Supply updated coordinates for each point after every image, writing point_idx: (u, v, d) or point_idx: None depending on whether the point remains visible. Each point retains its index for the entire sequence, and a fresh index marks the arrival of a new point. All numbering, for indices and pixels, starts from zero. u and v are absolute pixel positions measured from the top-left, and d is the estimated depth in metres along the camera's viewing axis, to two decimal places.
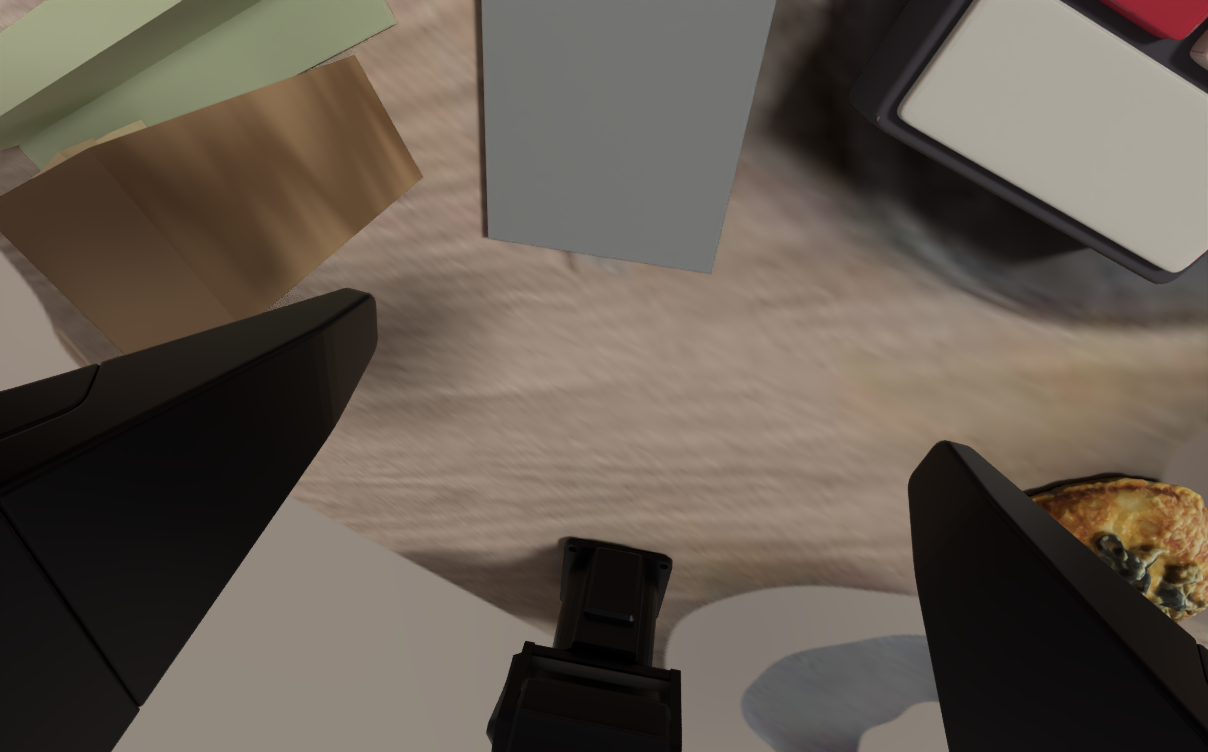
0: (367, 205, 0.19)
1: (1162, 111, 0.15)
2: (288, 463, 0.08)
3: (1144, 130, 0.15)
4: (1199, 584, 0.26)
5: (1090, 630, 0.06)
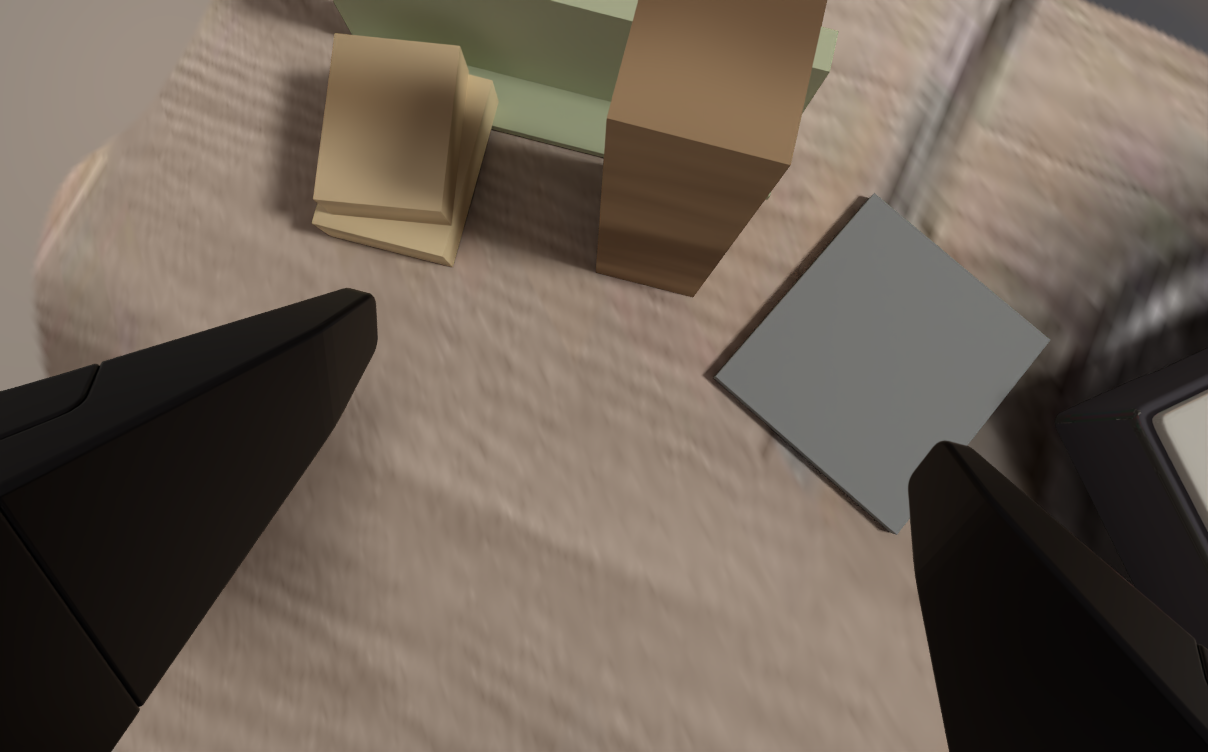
0: None
1: None
2: (288, 463, 0.08)
3: None
4: None
5: (1090, 630, 0.06)
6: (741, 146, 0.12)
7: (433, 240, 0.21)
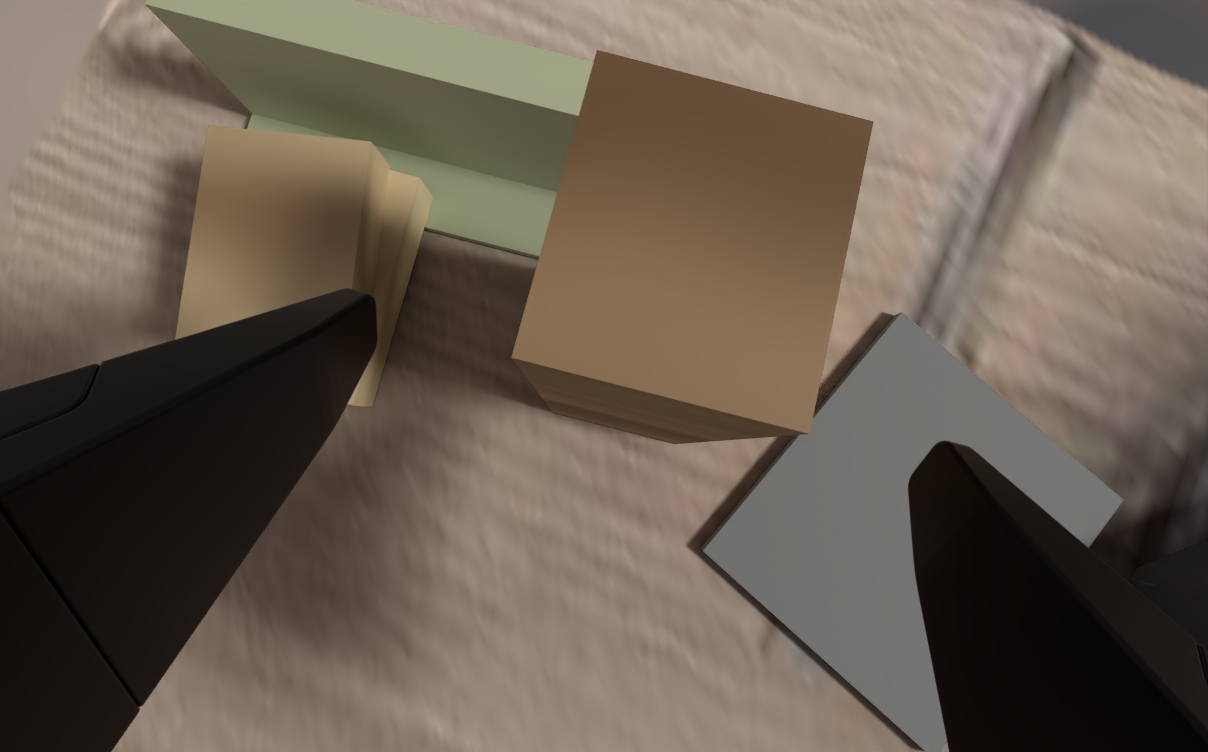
0: None
1: None
2: (288, 463, 0.08)
3: None
4: None
5: (1090, 630, 0.06)
6: (730, 404, 0.08)
7: None
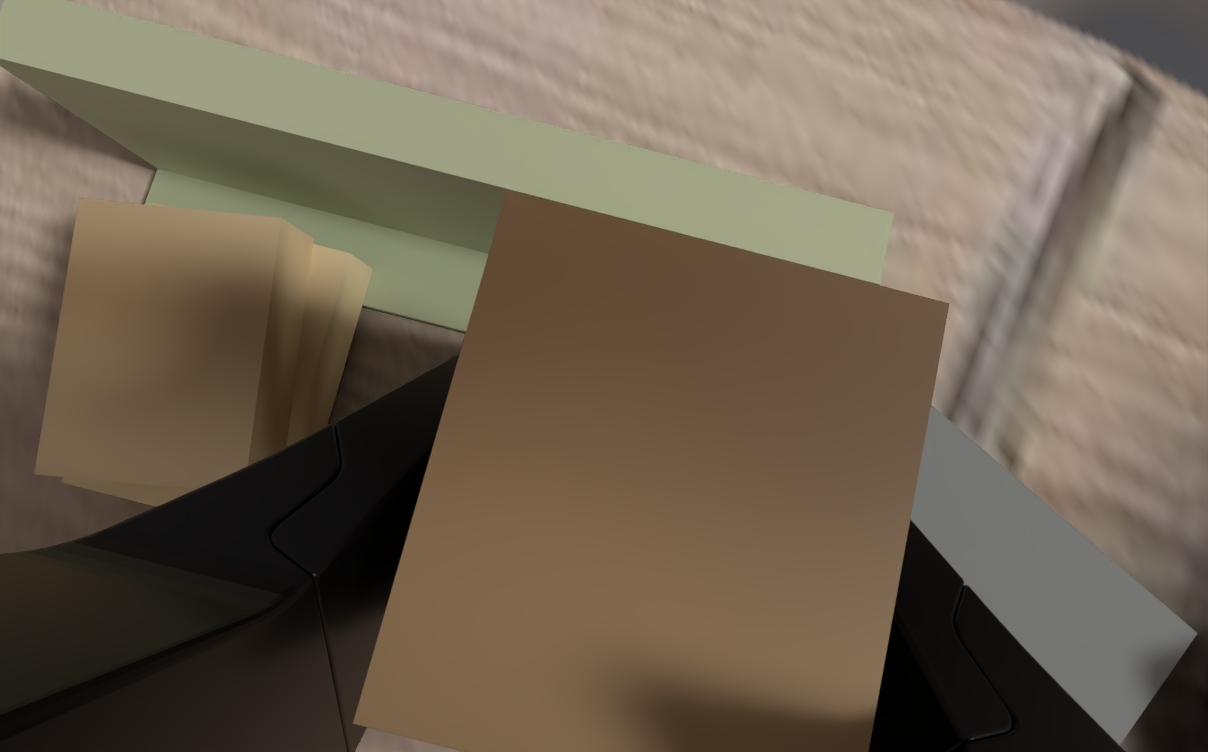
0: None
1: None
2: None
3: None
4: None
5: None
6: None
7: None
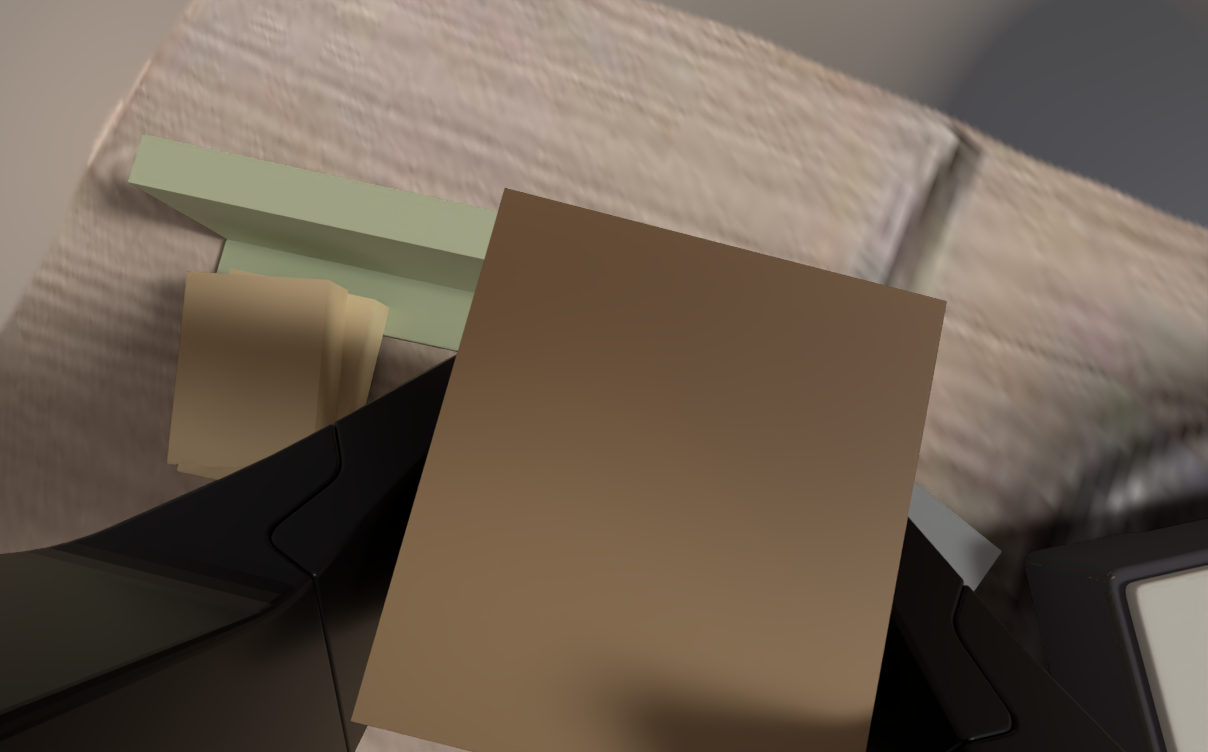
0: None
1: None
2: None
3: None
4: None
5: None
6: None
7: None
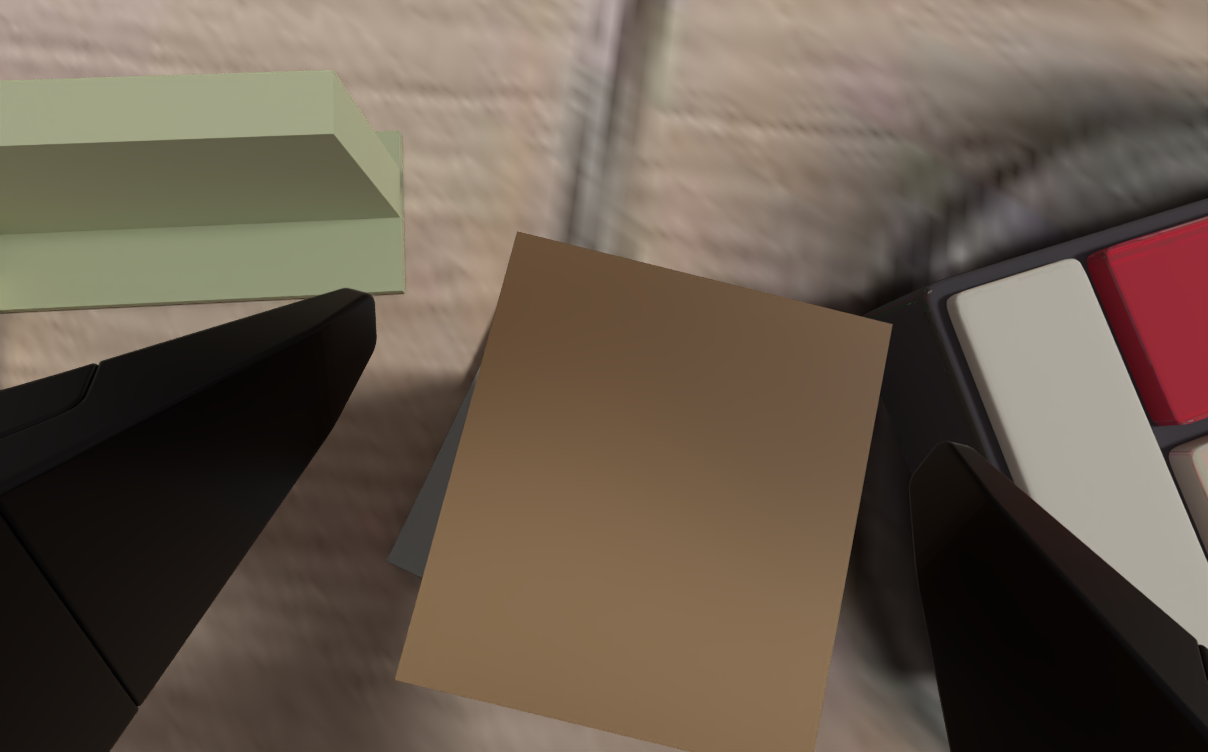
0: None
1: (1147, 483, 0.14)
2: (287, 463, 0.08)
3: (1130, 490, 0.14)
4: None
5: (1092, 631, 0.06)
6: (697, 740, 0.05)
7: None
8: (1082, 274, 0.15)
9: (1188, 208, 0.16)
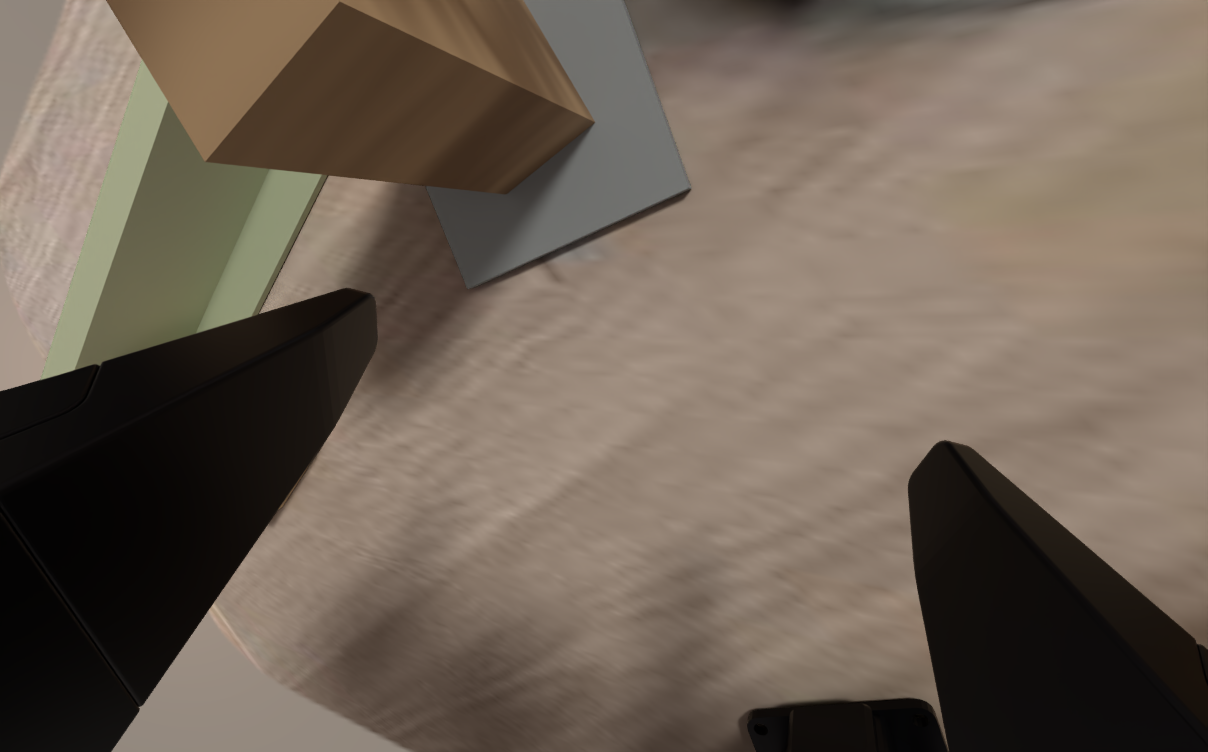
0: (531, 81, 0.15)
1: None
2: (288, 463, 0.08)
3: None
4: None
5: (1090, 630, 0.06)
6: (294, 44, 0.09)
7: None
8: None
9: None
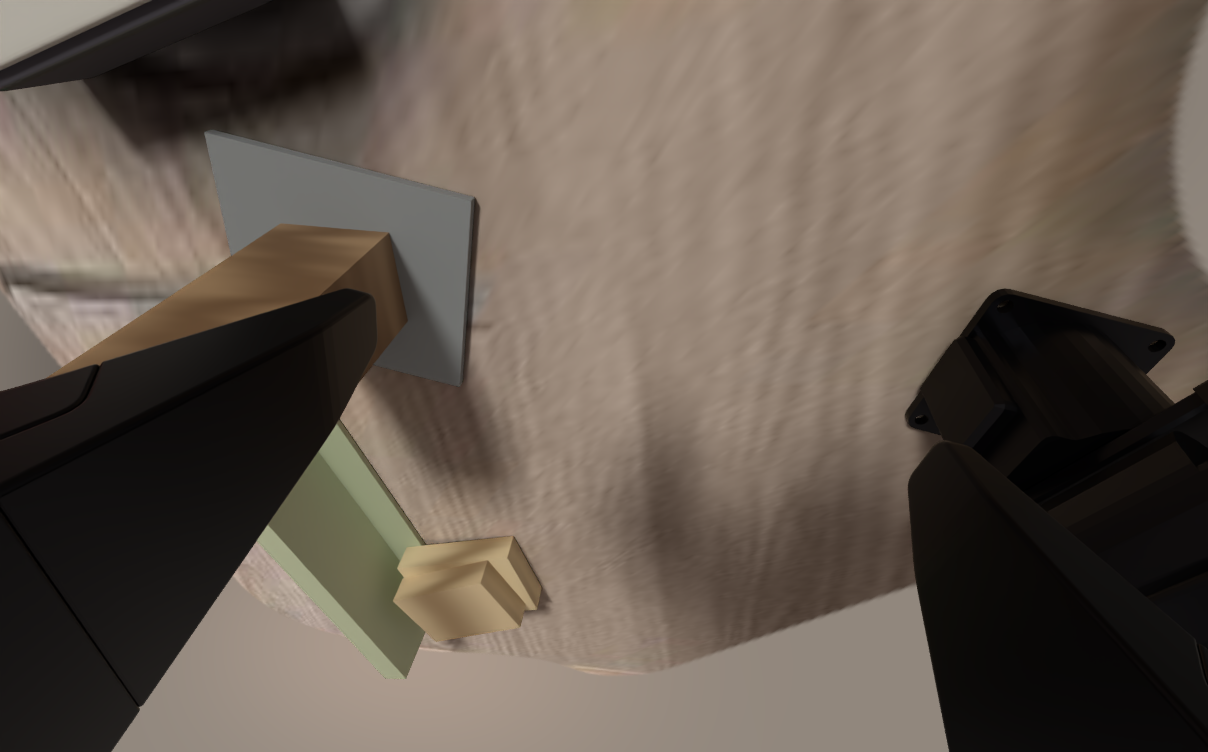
0: (322, 280, 0.19)
1: None
2: (288, 463, 0.08)
3: None
4: None
5: (1090, 630, 0.06)
6: None
7: (502, 564, 0.33)
8: None
9: None
